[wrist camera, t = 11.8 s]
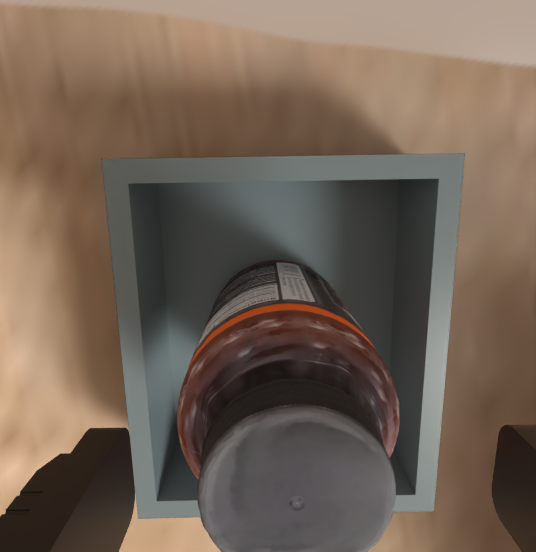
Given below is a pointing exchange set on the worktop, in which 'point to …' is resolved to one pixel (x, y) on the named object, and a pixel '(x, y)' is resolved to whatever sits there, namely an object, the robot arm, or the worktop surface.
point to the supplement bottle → (288, 418)
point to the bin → (291, 247)
